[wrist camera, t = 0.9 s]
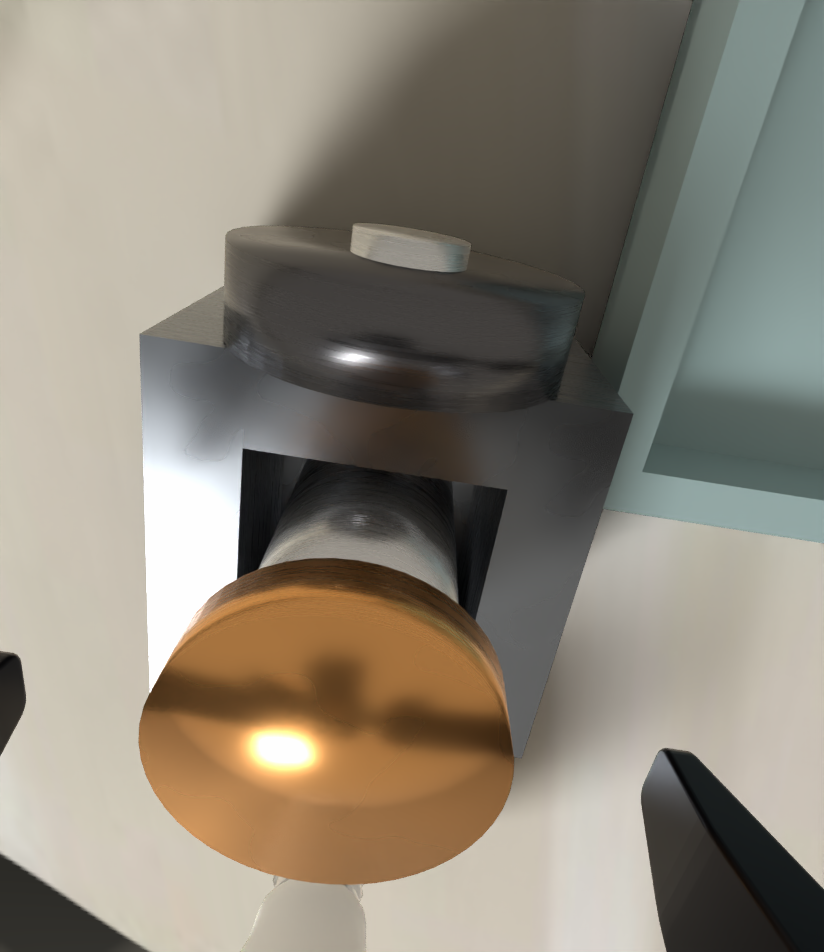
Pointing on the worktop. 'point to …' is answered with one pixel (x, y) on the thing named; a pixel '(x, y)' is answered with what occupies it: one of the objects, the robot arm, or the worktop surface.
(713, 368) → the tray
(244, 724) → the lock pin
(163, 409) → the block
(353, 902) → the light bulb
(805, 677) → the worktop surface
